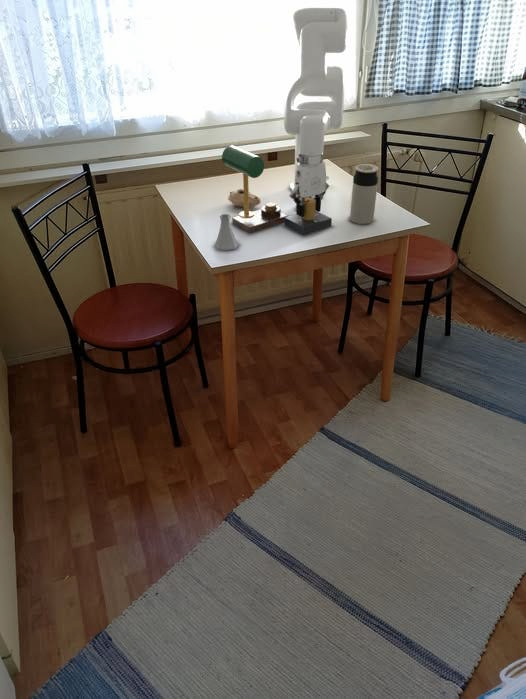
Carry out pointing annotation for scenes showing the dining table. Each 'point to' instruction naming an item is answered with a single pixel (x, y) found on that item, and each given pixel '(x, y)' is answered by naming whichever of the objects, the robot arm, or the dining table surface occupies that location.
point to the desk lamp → (243, 170)
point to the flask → (225, 235)
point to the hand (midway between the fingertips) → (308, 212)
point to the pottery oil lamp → (242, 198)
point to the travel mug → (364, 194)
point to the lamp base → (260, 220)
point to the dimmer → (308, 223)
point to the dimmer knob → (309, 209)
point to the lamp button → (270, 206)
